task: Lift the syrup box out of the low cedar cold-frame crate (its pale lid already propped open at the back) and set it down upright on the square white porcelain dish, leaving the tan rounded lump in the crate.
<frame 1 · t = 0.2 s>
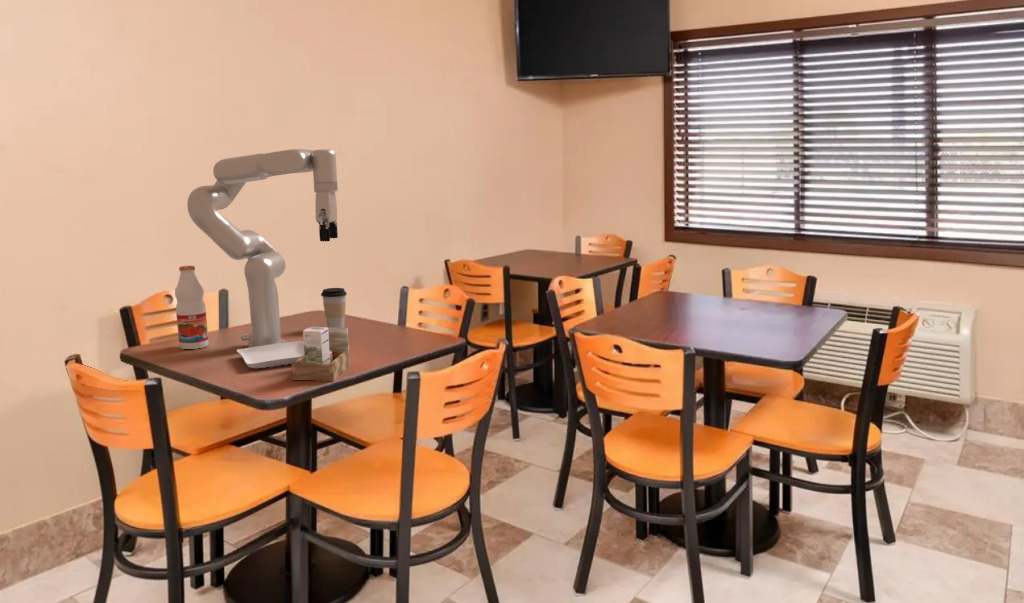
hand: (329, 239, 258), 37 cm above the table, tool pointing down, fingers open, 9 cm apart
salad plate: (276, 361, 248), on the table
syrup box: (318, 377, 229), resting in cold frame
tan rounded lump: (325, 370, 235), resting in cold frame
fruit juice: (194, 347, 267), on the table
coffee cup: (335, 329, 292), on the table
cold frame: (321, 373, 232), on the table
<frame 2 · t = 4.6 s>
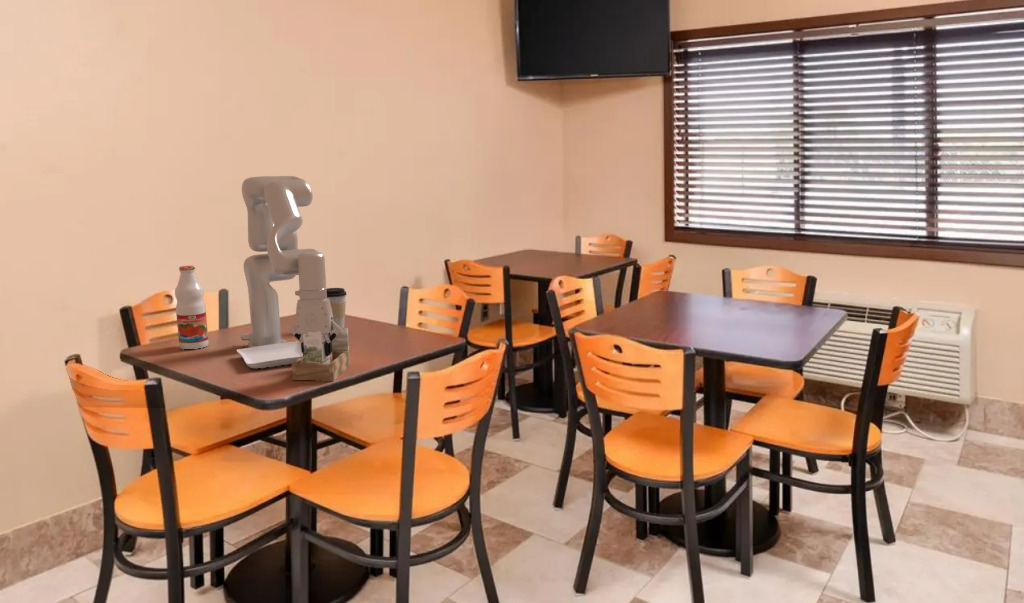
hand: (317, 354, 227), 7 cm above the table, tool pointing down, fingers closed on syrup box, 6 cm apart
syrup box: (318, 377, 229), resting in cold frame, touching gripper
everything else where it was.
when the fingers open (11 cm above the table, at t = 11.2 s): syrup box drops 2 cm, resting on salad plate.
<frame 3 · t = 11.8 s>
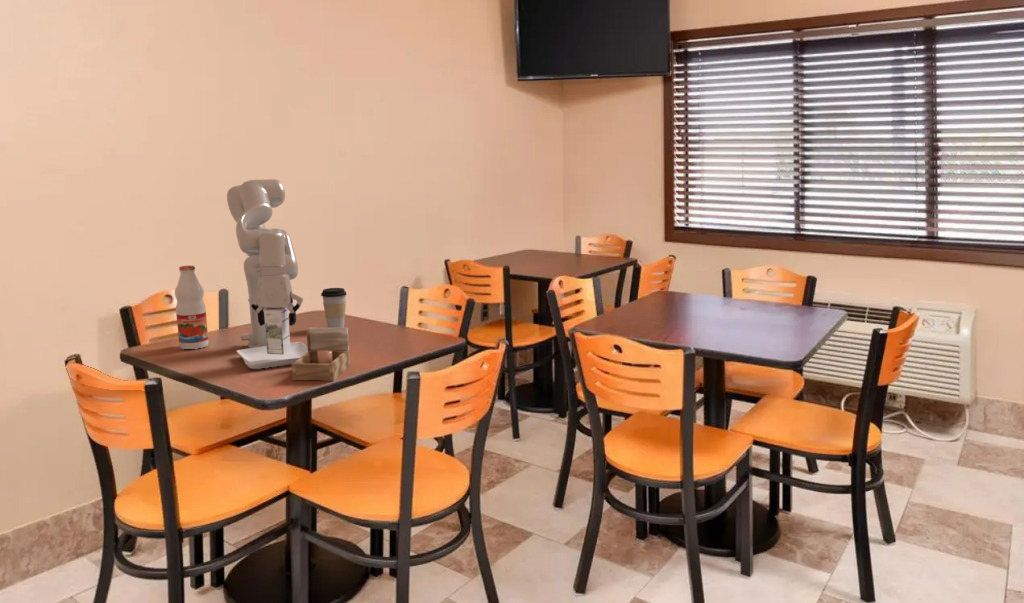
hand: (277, 324, 244), 12 cm above the table, tool pointing down, fingers open, 9 cm apart
salad plate: (276, 362, 248), on the table, touching syrup box
syrup box: (279, 353, 246), point 3 cm above the table, touching salad plate
everything else where it was.
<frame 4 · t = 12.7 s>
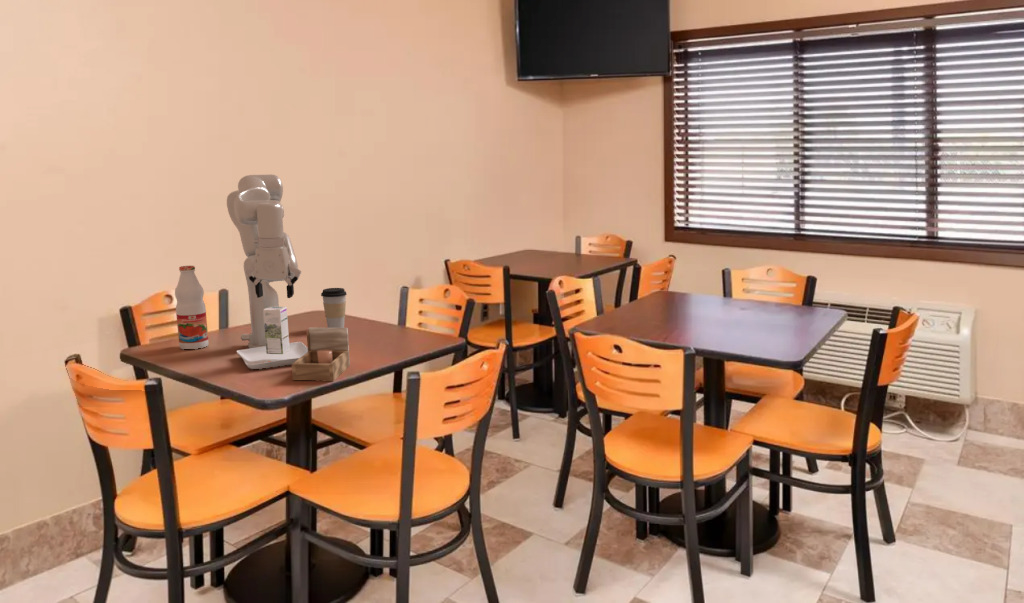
hand: (275, 297, 243), 21 cm above the table, tool pointing down, fingers open, 9 cm apart
nothing on the table moved.
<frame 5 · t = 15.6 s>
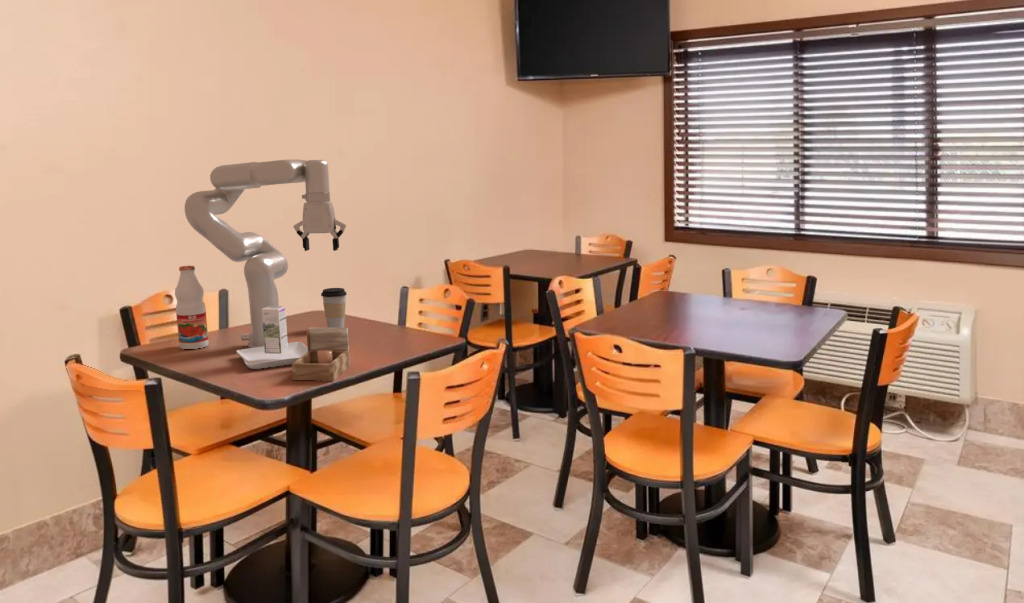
hand: (321, 250, 256), 33 cm above the table, tool pointing down, fingers open, 9 cm apart
at the end: syrup box inside the target area on the salad plate (0.8 cm from its centre), point 3.5 cm above the salad plate's base; syrup box tilted 1°; the gripper is holding nothing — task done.
